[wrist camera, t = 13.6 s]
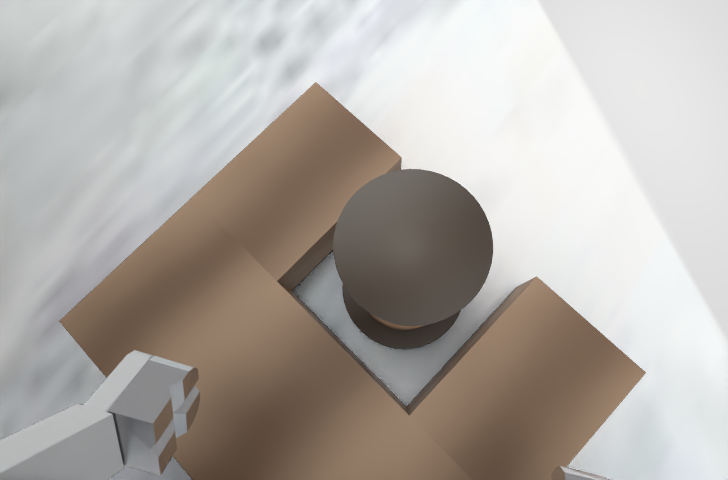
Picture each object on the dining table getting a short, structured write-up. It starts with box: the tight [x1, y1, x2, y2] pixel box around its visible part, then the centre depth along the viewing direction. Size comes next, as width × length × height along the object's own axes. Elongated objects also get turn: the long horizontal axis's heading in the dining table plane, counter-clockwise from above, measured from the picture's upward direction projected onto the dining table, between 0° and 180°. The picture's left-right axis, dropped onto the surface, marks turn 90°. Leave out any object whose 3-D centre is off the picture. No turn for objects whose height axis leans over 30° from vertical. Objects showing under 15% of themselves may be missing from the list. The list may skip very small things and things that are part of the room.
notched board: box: [59, 82, 646, 480], centre depth 20 cm, size 17×14×3 cm
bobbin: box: [333, 169, 493, 349], centre depth 17 cm, size 5×5×9 cm
